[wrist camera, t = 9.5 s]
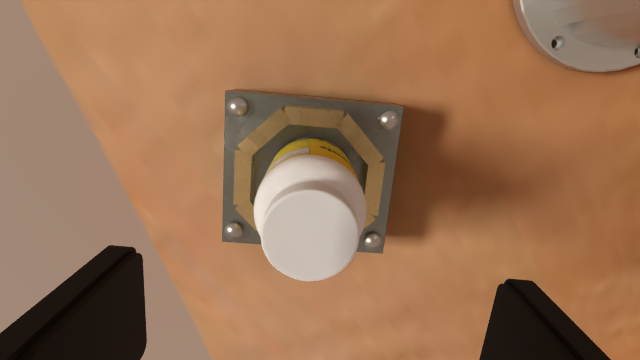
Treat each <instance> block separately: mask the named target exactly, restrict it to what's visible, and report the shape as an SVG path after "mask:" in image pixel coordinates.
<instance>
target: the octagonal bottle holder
mask: <svg viewBox="0 0 640 360" xmlns="http://www.w3.org/2000/svg"><path fill="white" fill-rule="evenodd" d="M403 108H404V107H403V106H400V105H397V104H394V103H384V102H373V101H362V100H350V99H339V98H328V97H317V96H306V95H294V94H283V93H272V92H261V91H249V90H238V89H234V90H227V91H225V131H224V180H223V229H222V241H223V242H237V243H250V244H262V243H261V237H260V235H259V233H258V231H257V228H256V225H255V220H254V202H255V197H256V194H257V191H258V188H259V186H260V184H261V182H262V180H263V178H264V176H265V174H266V172H267V170H268V168H269V166H270V164H271V162H272V160H273V159H274V157H275V155H276V154H277V153H278V152H279V151H280V150H281V149H282V148H283V147H284V146H285V145H287V144H288V143H290V142H292V141H294V140H296V139H299V138H304V137H318V138H323V139H326V140H328V141H330V142H332V143H334V144H335V145H337V146H338V147H339V148H340V149H341V150H342V151H343V152H344V153H345V154H346V156H347V158H348V159H349V161H350V163H351V165H352V167H353V169H354V172H355V174H356V176H357V179H358V181H359V182H360V185H361V187H362V190H363V192H364V195H365V200H366V207H367V215H366V222H365V226H364V229H363V231H362V234H361V236H360V238H359V245H358V248H357V252H370V253H383V247H384V240H385V233H386V226H387V219H388V212H389V205H390V199H391V192H392V185H393V178H394V171H395V164H396V157H397V150H398V143H399V136H400V129H401V122H402V115H403Z"/></svg>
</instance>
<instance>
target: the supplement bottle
mask: <svg viewBox="0 0 640 360" xmlns="http://www.w3.org/2000/svg"><path fill="white" fill-rule="evenodd" d="M366 215H367V207H366V200H365V195H364V192H363V190H362V187H361V185H360V182H359V181H358V179H357V176H356V174H355V172H354V169H353V167H352V165H351V163H350V161H349V159H348V158H347V156H346V154H345V153H344V152H343V151H342V150H341V149H340V148H339V147H338V146H337V145H335V144H334V143H332V142H330V141H328V140H326V139H323V138H318V137H304V138H299V139H296V140H294V141H292V142H290V143H288V144H287V145H285V146H284V147H283V148H282V149H281V150H280V151H279V152H278V153H277V154H276V155H275V157H274V159H273V160H272V162H271V164H270V166H269V168H268V170H267V172H266V174H265V176H264V178H263V180H262V182H261V184H260V186H259V188H258V191H257V194H256V197H255V202H254V220H255V225H256V228H257V231H258V233H259V235H260V237H261V243H262V248H263V250H264V253H265V255H266V257H267V259H268V260H269V261H270V263H271V264H272V265H273V266H274V267H275V268H276V269H277V270H278V271H280V272H281V273H283V274H285V275H287V276H289V277H291V278H294V279H297V280H302V281H319V280H323V279H327V278H330V277H332V276H334V275H336V274H337V273H339V272H340V271H342V270H343V269H344V268H345V267H346V266H347V265H348V264H349V263H350V262H351V260H352V259H353V257H354V256H355V253H356V251H357V248H358V245H359V238H360V236H361V234H362V231H363V229H364V226H365V222H366Z"/></svg>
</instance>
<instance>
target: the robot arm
mask: <svg viewBox="0 0 640 360" xmlns="http://www.w3.org/2000/svg"><path fill="white" fill-rule="evenodd" d="M513 6H514V9H515V13H516V16H517V19H518V23H519V25H520V27H521V28H522V30H523V32H524V34H525V36H526V38H527V39H528V40H529V42H530V43H531V44H532V45H533V46H534V47H535V49H536V50H537V51H538V52H539V53H540V54H542V55H543V56H544V57H546V58H547V59H549V60H550V61H551V62H553V63H555V64H558V65H560V66H562V67H564V68H567V69H571V70H576V71H581V72H608V71H617V70H622V69H625V68H629V67H632V66H635V65H638V64H640V0H513ZM551 42H553V46H551ZM146 342H147V338H146V318H145V297H144V278H143V259H142V255H141V254H140V253H136V250H135V248H133V247H124V246H113V245H110V246H108V247H106V248H105V249H104V250H103V251H101V252H100V253H99V254H98V255H97V256H95V257H94V258H93V259H92V260H90V261H89V262H88V263H87V264H86V265H84V266H83V267H82V268H81V269H79V270H78V271H77V272H75V273H74V274H73V275H72V276H71V277H69V278H68V279H67V280H66V281H64V282H63V283H62V284H61V285H59V286H58V287H57V288H56V289H55V290H53V291H52V292H51V293H49V294H48V295H47V296H46V297H45V298H43V299H42V300H41V301H40V302H38V303H37V304H36V305H35V306H33V307H32V308H31V309H30V310H28V311H27V312H26V313H25V314H24V315H22V316H21V317H20V318H19V319H17V320H16V321H15V322H14V323H12V324H11V325H10V326H9V327H8V328H6V329H5V330H4V331H3V332H1V333H0V360H140V359H141V357H142V356H143V354H144V351H145V348H146ZM480 360H611V359H610V358H609V357H608V356H607V355H606V354H605V353H604V352H603V351H602V350H601V349H600V348H599V347H598V346H597V345H596V344H595V343H594V342H593V341H592V340H591V339H590V338H589V337H588V336H587V335H586V334H585V333H584V332H583V331H582V330H581V329H580V328H579V327H578V326H577V325H576V324H575V323H574V322H573V321H572V320H571V319H570V318H569V317H568V316H567V315H566V314H565V313H564V312H563V311H562V310H561V309H560V308H559V307H558V306H557V305H556V304H555V303H554V302H553V301H552V300H551V299H550V298H549V297H548V296H547V295H546V294H545V293H544V292H543V291H542V290H541V289H540V288H539V287H538V286H537V285H536V284H535V283H534V282H533V281H529V280H517V279H507V280H506V281H505V282H504V284H500V285H499V286H498V288H497V292H496V296H495V300H494V304H493V308H492V312H491V316H490V320H489V324H488V328H487V332H486V336H485V340H484V344H483V348H482V352H481V356H480Z"/></svg>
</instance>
